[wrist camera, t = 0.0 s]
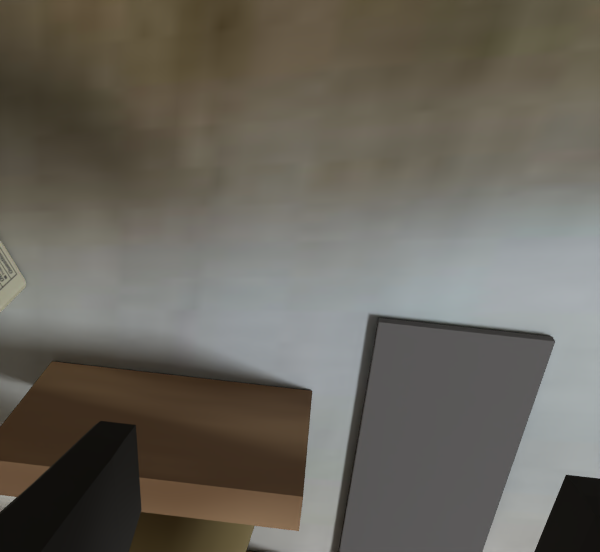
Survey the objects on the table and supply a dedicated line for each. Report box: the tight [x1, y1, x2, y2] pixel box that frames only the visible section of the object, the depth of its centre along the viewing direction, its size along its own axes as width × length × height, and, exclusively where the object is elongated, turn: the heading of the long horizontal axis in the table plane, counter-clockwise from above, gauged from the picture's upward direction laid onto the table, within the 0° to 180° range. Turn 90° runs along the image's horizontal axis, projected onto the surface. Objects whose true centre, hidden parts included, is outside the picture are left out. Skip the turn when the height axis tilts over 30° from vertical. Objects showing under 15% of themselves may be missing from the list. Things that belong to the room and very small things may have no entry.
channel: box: [0, 361, 312, 552], centre depth 22 cm, size 11×10×5 cm
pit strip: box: [339, 318, 555, 552], centre depth 24 cm, size 18×6×1 cm, turn 175°
